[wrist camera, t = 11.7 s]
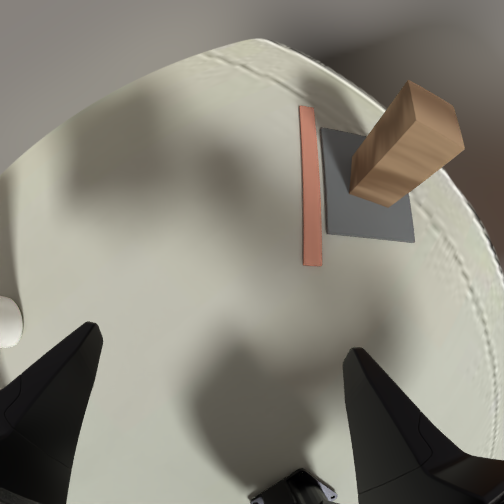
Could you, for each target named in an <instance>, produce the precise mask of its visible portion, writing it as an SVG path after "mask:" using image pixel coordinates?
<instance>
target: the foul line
mask: <svg viewBox="0 0 504 504" xmlns="http://www.w3.org/2000/svg"><path fill="white" fill-rule="evenodd" d="M299 110H300V126H301V145H302V171H303V222H304V249H303V265H308V266H322V231H321V200H320V180H319V164H318V150H317V138H316V127H315V117H314V108H312V107H306V106H300V107H299Z"/></svg>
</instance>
